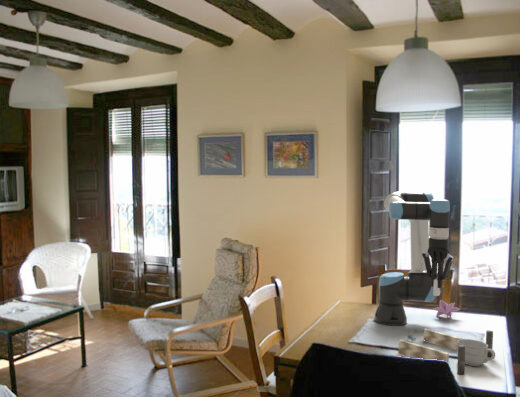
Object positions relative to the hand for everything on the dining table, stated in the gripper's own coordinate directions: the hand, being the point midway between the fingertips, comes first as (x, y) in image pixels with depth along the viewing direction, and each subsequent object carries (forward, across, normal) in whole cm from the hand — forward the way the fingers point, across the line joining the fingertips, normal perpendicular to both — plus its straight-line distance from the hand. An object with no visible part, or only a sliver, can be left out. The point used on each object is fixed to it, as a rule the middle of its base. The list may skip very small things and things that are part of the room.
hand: (436, 295), depth 197 cm
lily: (+24, -16, +45) cm, 53 cm away
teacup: (+22, +18, -4) cm, 29 cm away
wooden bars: (+22, +6, -4) cm, 23 cm away
